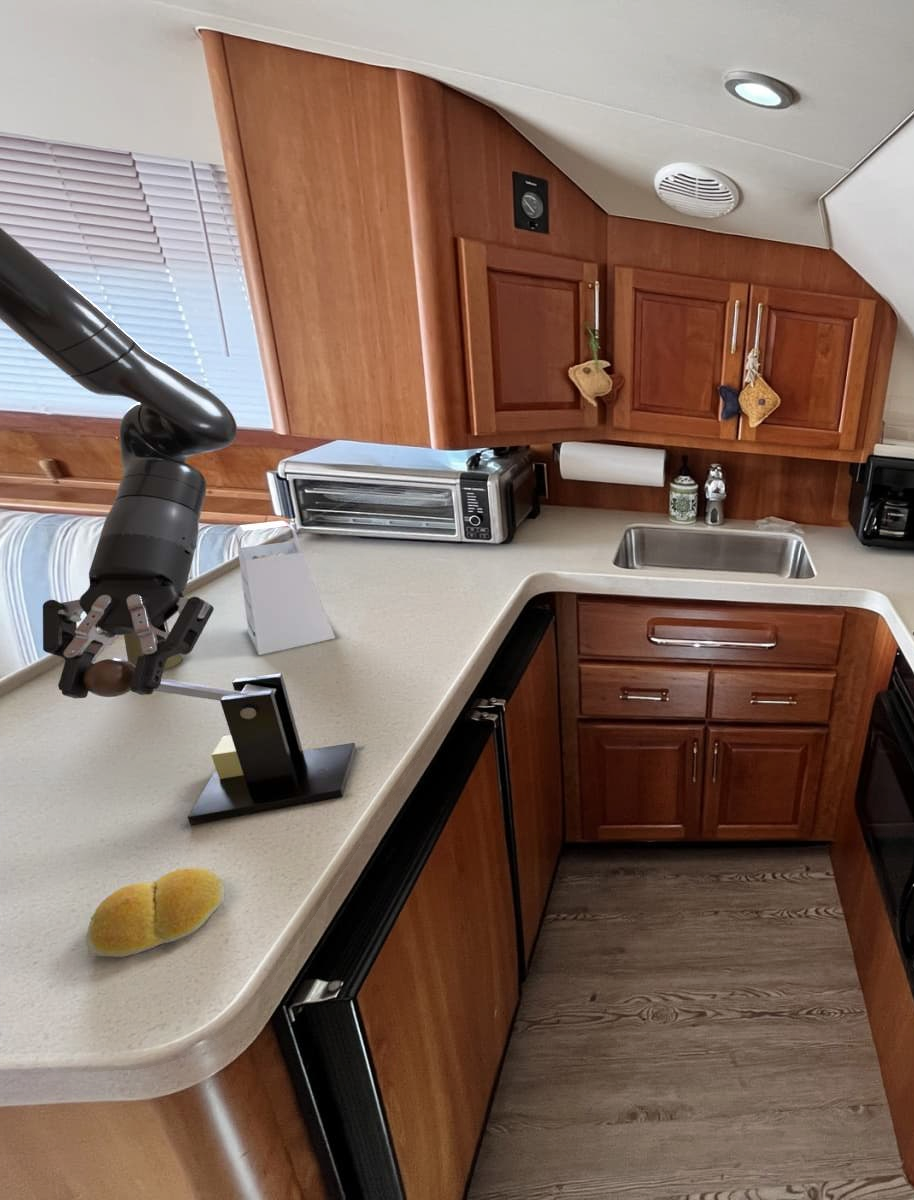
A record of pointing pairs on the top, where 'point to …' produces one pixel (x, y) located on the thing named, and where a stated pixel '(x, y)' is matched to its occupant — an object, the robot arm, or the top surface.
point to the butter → (226, 759)
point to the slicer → (270, 759)
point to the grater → (280, 595)
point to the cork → (135, 650)
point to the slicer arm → (117, 679)
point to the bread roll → (154, 912)
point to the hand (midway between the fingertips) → (108, 694)
